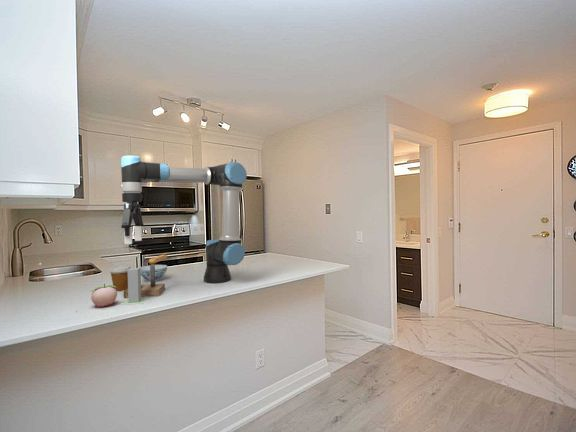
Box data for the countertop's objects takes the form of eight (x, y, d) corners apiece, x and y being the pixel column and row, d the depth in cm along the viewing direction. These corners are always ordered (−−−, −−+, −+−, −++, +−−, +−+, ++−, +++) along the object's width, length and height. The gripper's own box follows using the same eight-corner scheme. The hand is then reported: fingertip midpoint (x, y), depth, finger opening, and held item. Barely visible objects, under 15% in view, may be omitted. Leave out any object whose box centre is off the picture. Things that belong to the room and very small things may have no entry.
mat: (149, 299, 136) (149, 297, 136) (143, 306, 127) (143, 303, 127) (127, 301, 135) (127, 298, 135) (120, 307, 126) (119, 305, 126)
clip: (154, 263, 142) (153, 259, 142) (148, 263, 142) (147, 259, 142) (167, 258, 157) (167, 254, 157) (162, 258, 157) (162, 254, 157)
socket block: (164, 291, 150) (164, 261, 150) (159, 298, 139) (158, 265, 138) (132, 293, 148) (131, 262, 147) (123, 300, 136) (122, 267, 135)
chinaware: (165, 276, 184) (164, 263, 184) (169, 281, 171) (169, 267, 171) (137, 279, 176) (137, 266, 176) (140, 285, 164) (139, 270, 163)
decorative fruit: (96, 313, 119) (95, 287, 119) (89, 309, 125) (88, 284, 124) (121, 307, 126) (120, 283, 126) (114, 303, 132) (113, 280, 132)
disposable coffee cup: (122, 294, 146) (122, 269, 145) (105, 293, 148) (104, 269, 147) (136, 289, 155) (135, 265, 155) (120, 288, 157) (119, 265, 157)
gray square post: (141, 299, 133) (140, 267, 133) (138, 302, 129) (137, 269, 129) (131, 300, 133) (130, 268, 132) (128, 302, 129) (127, 270, 128)
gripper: (131, 194, 142) (133, 239, 142) (111, 191, 117) (113, 246, 118) (149, 194, 143) (150, 239, 143) (132, 190, 118) (133, 245, 119)
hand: (133, 242), depth 131 cm, fingers open, 13 cm apart
